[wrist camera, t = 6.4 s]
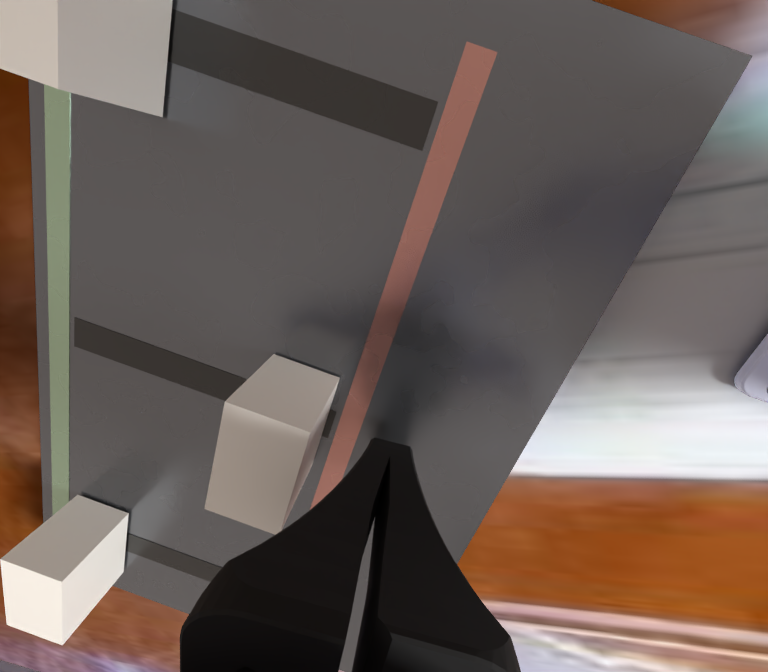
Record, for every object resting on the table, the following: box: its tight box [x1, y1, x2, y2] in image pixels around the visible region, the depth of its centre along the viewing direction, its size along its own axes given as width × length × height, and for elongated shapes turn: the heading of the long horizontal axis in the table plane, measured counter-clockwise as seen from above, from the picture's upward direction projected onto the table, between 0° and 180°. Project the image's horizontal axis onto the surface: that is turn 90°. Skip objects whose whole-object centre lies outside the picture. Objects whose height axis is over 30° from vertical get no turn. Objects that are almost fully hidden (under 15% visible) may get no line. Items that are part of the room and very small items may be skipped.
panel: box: [29, 0, 752, 672], centre depth 14 cm, size 18×27×1 cm, turn 162°
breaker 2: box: [0, 495, 129, 645], centre depth 16 cm, size 2×4×3 cm, turn 162°
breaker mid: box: [204, 354, 340, 535], centre depth 12 cm, size 2×4×3 cm, turn 162°
